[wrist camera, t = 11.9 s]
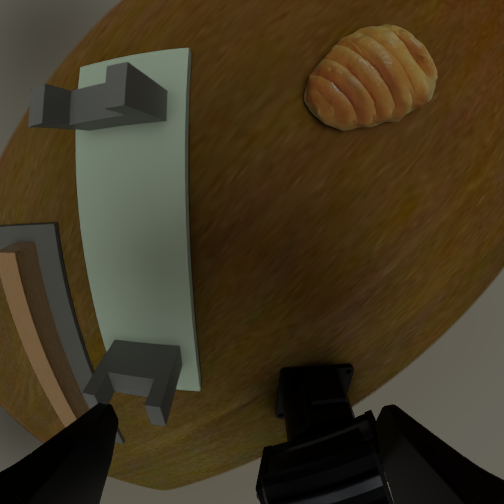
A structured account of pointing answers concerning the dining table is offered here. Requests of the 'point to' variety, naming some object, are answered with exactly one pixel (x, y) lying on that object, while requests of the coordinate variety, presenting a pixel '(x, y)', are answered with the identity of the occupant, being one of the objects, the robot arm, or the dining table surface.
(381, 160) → the dining table surface
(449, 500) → the robot arm
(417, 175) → the dining table surface
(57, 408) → the copper rail
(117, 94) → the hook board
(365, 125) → the pastry
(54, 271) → the rubber mat
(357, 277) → the dining table surface
